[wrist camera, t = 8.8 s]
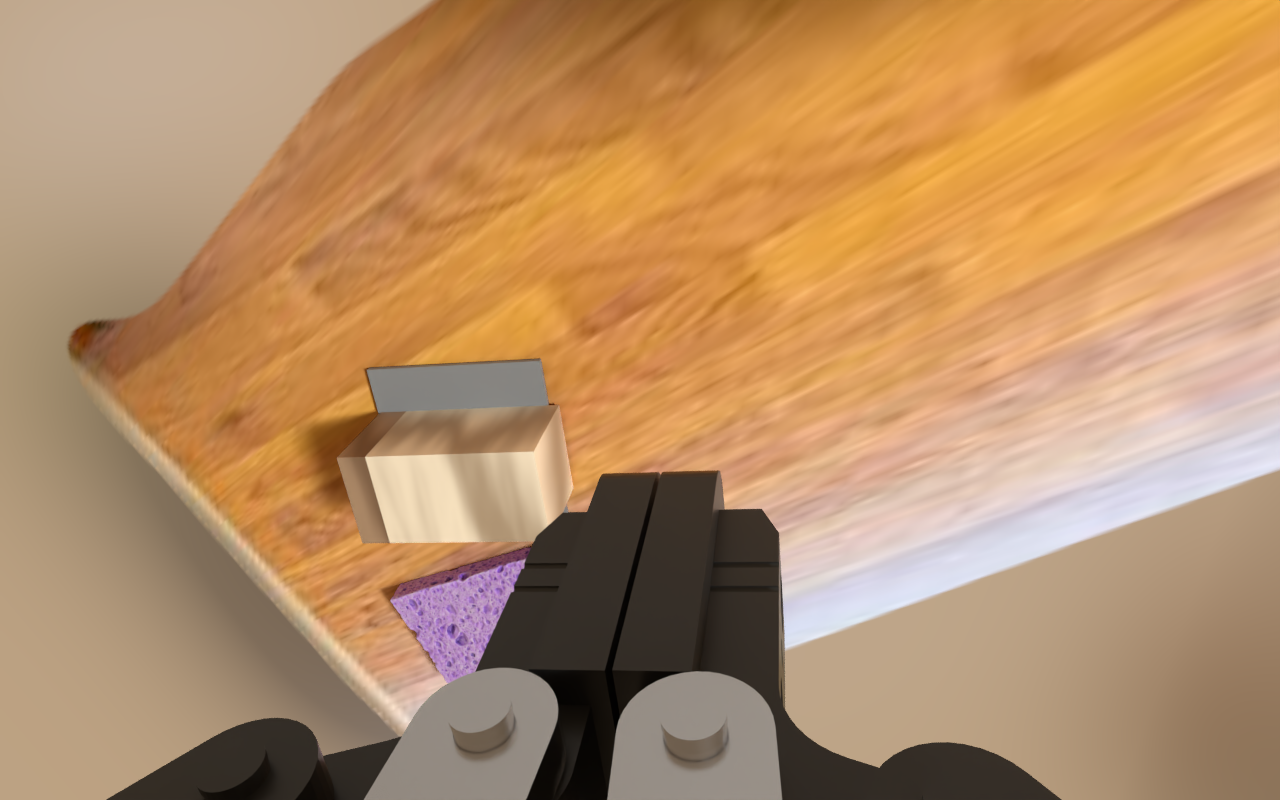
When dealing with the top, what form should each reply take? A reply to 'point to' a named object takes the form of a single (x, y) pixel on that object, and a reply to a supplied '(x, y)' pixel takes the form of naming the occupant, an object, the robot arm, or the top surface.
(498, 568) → the sponges
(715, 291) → the top surface
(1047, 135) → the top surface
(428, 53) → the top surface
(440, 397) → the mat
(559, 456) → the birch block
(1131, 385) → the top surface
